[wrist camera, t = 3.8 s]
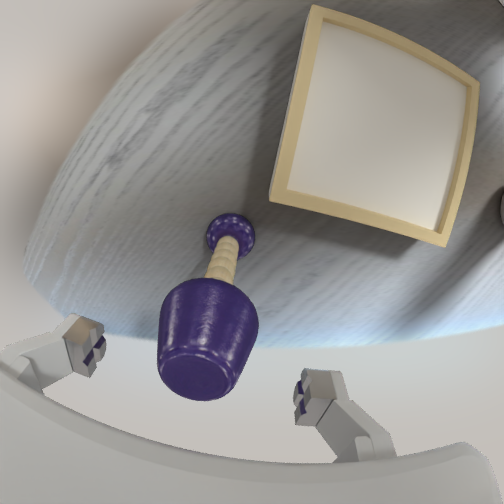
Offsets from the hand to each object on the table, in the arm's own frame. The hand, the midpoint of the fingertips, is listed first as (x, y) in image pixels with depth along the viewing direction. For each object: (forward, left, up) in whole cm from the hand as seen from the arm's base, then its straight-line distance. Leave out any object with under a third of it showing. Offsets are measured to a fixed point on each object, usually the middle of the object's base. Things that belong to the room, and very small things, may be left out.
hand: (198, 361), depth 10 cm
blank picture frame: (-12, +10, -16) cm, 22 cm away
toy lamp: (0, 0, -16) cm, 16 cm away
